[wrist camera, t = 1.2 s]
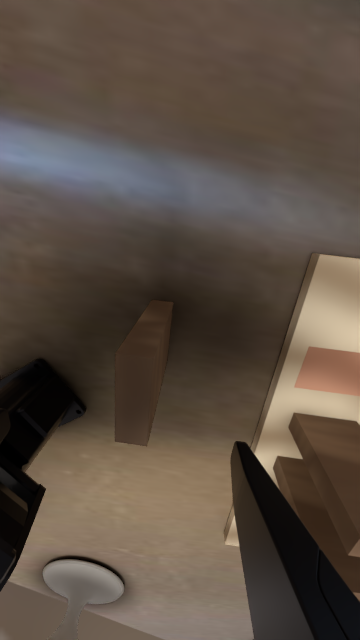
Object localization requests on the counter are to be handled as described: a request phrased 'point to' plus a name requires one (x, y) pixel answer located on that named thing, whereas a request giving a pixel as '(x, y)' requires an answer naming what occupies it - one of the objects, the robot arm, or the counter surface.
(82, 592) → the chalice
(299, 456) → the domino board
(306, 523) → the domino
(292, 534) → the robot arm
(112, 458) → the counter surface
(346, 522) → the domino
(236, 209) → the counter surface
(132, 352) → the domino
